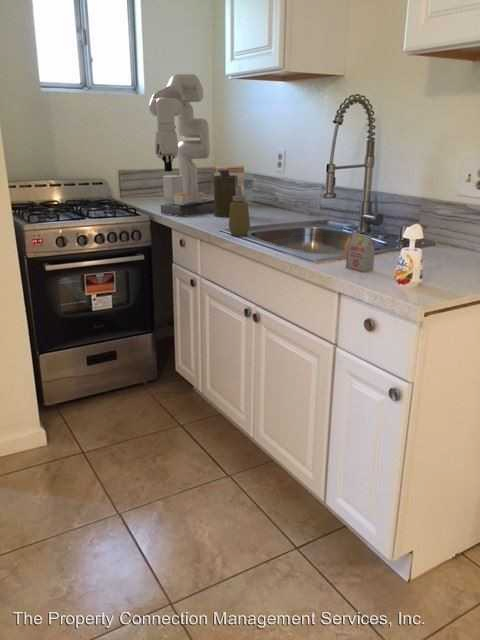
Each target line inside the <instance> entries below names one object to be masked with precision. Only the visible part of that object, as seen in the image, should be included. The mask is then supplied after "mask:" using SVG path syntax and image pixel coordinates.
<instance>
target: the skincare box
mask: <svg viewBox="0 0 480 640" xmlns="http://www.w3.org/2000/svg"><path fill="white" fill-rule="evenodd" d="M162 184H163V185H162V186H163V202H164V203H163V205H165V204H170V203H174V193H179V192H181V193H183V179H182V176H180V175H162Z"/></svg>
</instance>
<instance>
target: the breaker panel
mask: <svg viewBox="0 0 480 640" xmlns="http://www.w3.org/2000/svg"><path fill="white" fill-rule="evenodd" d="M212 212H214V199H210V200H203V199H201V200H193V201H189V203H186V204H180V205H178V204H174V203H170V204H165V205H164V204H160V214H161V213H164V214H163V215H166V214H171V215H170V216H173V215H177V216H176V217H179V216H182V217H186V216H185V215H188V216H193V215H192V214H195V215H199V214H200V215H201V214H205V213H206V214H207V213H212Z"/></svg>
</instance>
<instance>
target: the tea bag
mask: <svg viewBox="0 0 480 640" xmlns="http://www.w3.org/2000/svg"><path fill="white" fill-rule="evenodd" d="M372 238H373V237H372V235H368V234H363V233H357V232H351V235H350V239H349V242H348V245H347V247H346V261H345V262H346V264H345V268H346V269H348V270H353V271H355V272H356V271H357V272H360V273H363V274H365V273H369V272H373V271H374V263H375V262H374V261H375V252H376V251H375V247H374V243H373V239H372Z"/></svg>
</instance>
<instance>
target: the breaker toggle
mask: <svg viewBox="0 0 480 640" xmlns="http://www.w3.org/2000/svg"><path fill="white" fill-rule="evenodd" d="M186 203H189V193H181V192H179V193H174V204H178V205H180V204H186Z"/></svg>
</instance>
